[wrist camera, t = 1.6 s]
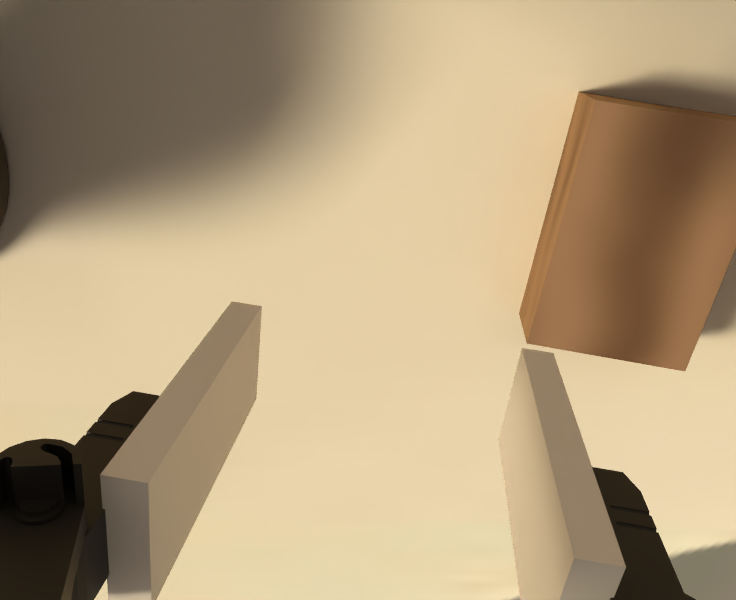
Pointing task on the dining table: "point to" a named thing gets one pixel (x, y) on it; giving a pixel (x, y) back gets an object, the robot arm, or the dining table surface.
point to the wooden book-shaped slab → (634, 232)
